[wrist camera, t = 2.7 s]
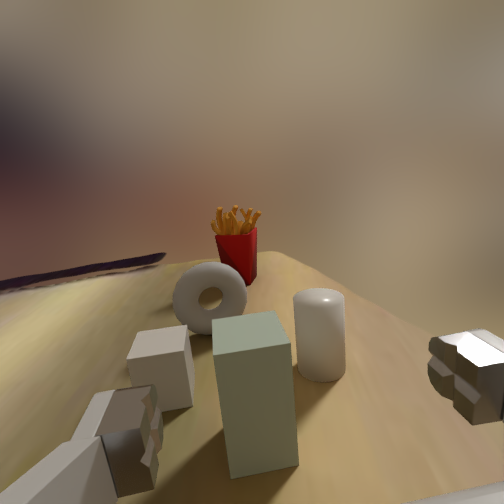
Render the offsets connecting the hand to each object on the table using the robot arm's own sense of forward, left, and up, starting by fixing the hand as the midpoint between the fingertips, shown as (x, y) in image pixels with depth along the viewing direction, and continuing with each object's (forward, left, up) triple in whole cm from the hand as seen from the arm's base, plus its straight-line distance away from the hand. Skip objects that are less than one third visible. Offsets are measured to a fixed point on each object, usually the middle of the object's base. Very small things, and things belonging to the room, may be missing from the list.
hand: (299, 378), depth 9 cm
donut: (-3, +32, -15) cm, 35 cm away
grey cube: (-8, +21, -15) cm, 27 cm away
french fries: (+3, +50, -15) cm, 52 cm away
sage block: (0, +13, -15) cm, 19 cm away
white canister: (+8, +21, -15) cm, 26 cm away
